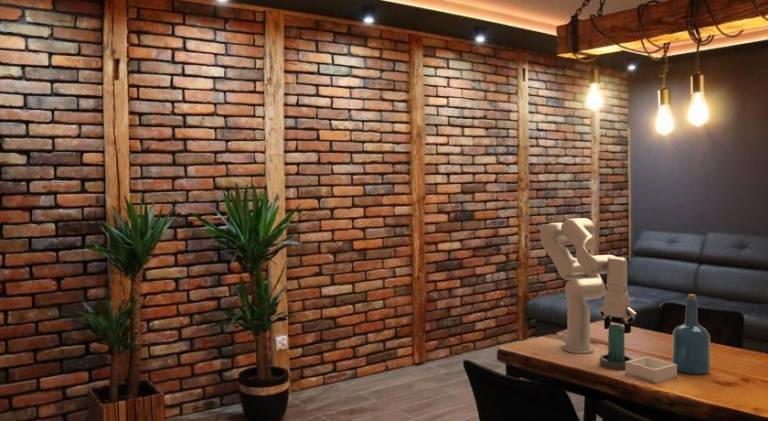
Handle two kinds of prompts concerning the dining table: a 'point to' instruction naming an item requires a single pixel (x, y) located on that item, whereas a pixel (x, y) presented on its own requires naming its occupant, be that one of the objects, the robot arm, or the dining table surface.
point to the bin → (651, 369)
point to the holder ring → (613, 363)
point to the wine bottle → (691, 342)
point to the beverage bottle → (616, 341)
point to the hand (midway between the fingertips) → (617, 330)
